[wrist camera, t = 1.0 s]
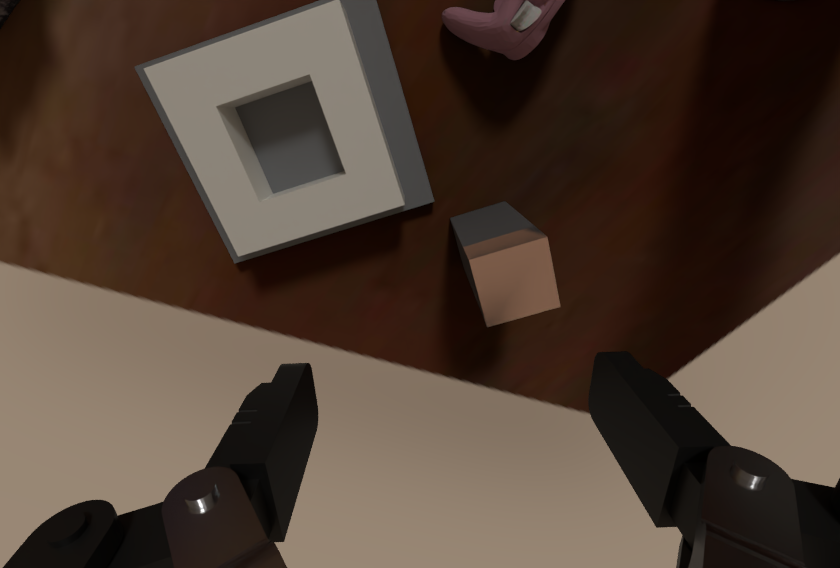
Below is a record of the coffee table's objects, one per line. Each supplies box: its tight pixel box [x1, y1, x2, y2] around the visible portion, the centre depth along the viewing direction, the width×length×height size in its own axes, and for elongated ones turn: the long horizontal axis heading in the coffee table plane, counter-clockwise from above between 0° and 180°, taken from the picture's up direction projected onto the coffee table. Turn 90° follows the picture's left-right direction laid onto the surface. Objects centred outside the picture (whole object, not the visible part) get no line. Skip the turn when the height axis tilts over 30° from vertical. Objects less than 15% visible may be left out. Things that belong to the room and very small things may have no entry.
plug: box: [450, 201, 560, 327], centre depth 28 cm, size 4×4×10 cm
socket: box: [135, 0, 434, 263], centre depth 27 cm, size 16×14×4 cm
